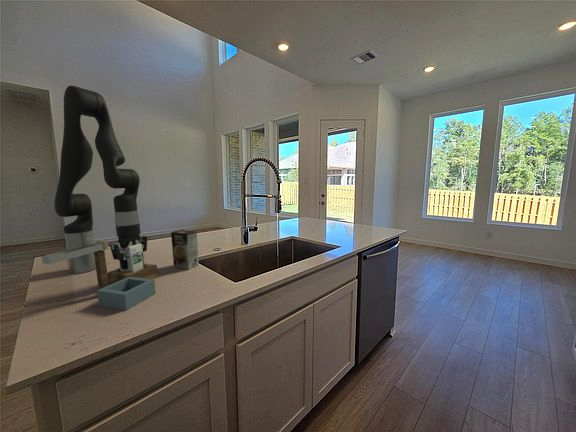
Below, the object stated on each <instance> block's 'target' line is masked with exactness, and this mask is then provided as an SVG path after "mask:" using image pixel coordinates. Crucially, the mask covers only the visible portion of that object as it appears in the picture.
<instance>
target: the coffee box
mask: <svg viewBox="0 0 576 432" xmlns="http://www.w3.org/2000/svg"><path fill="white" fill-rule="evenodd" d="M170 235H171V237H170V238H171V246H172V247H171V248H172V259H173V260H172V261H173V262H172V263H173V267H174V268H178V269H183V270H191V269H195V268H196V267H198V266H199V251H198V250H199V249H198V247H199V246H198V232H197V231H196V230H189V229H188V230H187V229H180V230H174V231H171V232H170Z"/></svg>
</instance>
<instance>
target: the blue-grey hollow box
mask: <svg viewBox="0 0 576 432" xmlns="http://www.w3.org/2000/svg"><path fill="white" fill-rule="evenodd" d="M155 283H156V282H155V279H144V278H136V277H127V278H125V279H122V280H120V281H118V282H115V283H113V284H111V285H108V286H106V287H104V288H102V289H99V288H98V290H96V293H97V299H98V306H100V307H106V308H111V309H118V310H122V311H128V310H130V309H132V308H133V307H135V306H136V305H139V304H140V303H142V302H144V301H145V300H147V299H149V298H150V297H152V296H154V295H156V294H157V293H156V284H155Z"/></svg>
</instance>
